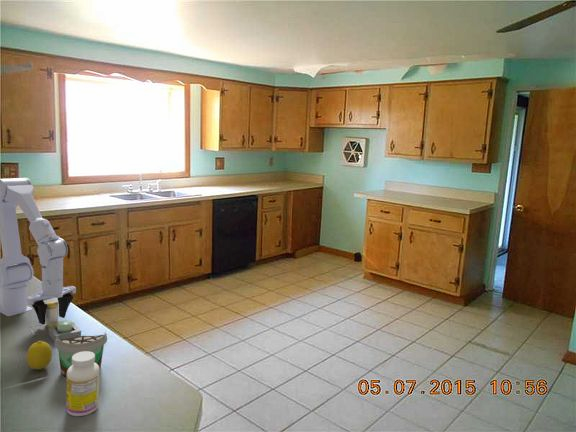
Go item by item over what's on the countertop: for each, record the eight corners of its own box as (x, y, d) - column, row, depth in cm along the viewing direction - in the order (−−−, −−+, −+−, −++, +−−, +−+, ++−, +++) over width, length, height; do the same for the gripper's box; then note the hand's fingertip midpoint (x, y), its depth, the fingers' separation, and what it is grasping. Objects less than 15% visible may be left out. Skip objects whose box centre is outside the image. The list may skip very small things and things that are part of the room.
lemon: (56, 366, 113) (56, 337, 112) (42, 377, 108) (42, 347, 107) (36, 363, 114) (36, 334, 112) (21, 374, 108) (21, 344, 107)
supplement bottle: (73, 399, 101) (74, 348, 98) (102, 400, 101) (104, 349, 99) (60, 417, 94) (61, 362, 92) (92, 418, 95) (93, 364, 93)
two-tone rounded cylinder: (43, 324, 135) (42, 303, 133) (54, 320, 138) (53, 300, 136) (50, 328, 133) (49, 306, 131) (60, 324, 136) (60, 303, 134)
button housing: (48, 334, 129) (48, 326, 129) (73, 329, 134) (73, 322, 133) (55, 343, 124) (55, 336, 123) (80, 338, 129) (81, 330, 128)
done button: (55, 330, 129) (55, 322, 128) (70, 327, 131) (70, 319, 131) (59, 335, 126) (59, 327, 125) (74, 332, 128) (74, 324, 128)
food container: (54, 386, 105) (54, 348, 103) (54, 373, 110) (54, 336, 108) (108, 377, 111) (109, 341, 109) (106, 365, 116) (107, 330, 114)
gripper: (36, 287, 125) (36, 331, 127) (82, 276, 137) (81, 316, 139) (22, 281, 128) (22, 324, 130) (68, 271, 140) (68, 310, 143)
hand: (52, 320), depth 135 cm, fingers open, 6 cm apart
